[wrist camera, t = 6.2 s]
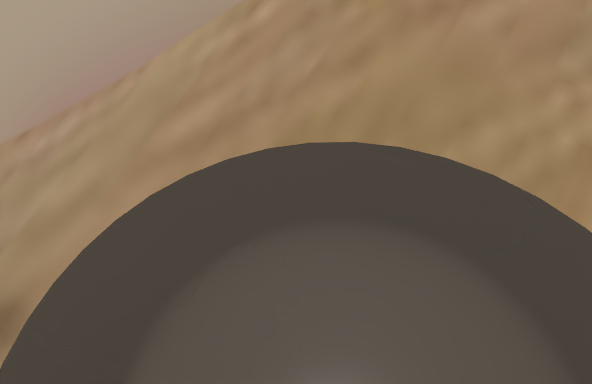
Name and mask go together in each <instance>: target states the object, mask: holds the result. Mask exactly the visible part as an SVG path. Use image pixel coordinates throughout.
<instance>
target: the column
mask: <svg viewBox="0 0 592 384" xmlns="http://www.w3.org/2000/svg"><path fill="white" fill-rule="evenodd" d="M0 384H592V233H591V232H590V231H589V230H587V229H586V228H585V227H583V226H582V225H580V224H578V223H577V222H575V221H574V220H572V219H571V218H569V217H568V216H566V215H565V214H563V213H562V212H560V211H559V210H557V209H555V208H554V207H552V206H551V205H549V204H548V203H546V202H545V201H543V200H542V199H540V198H538V197H536V196H534V195H532V194H530V193H528V192H526V191H524V190H522V189H520V188H518V187H516V186H514V185H512V184H510V183H508V182H506V181H504V180H502V179H500V178H498V177H496V176H494V175H492V174H489V173H486V172H484V171H481V170H478V169H475V168H473V167H470V166H467V165H464V164H462V163H459V162H456V161H453V160H450V159H448V158H444V157H440V156H436V155H431V154H427V153H423V152H419V151H414V150H410V149H406V148H401V147H394V146H385V145H376V144H367V143H357V142H332V143H305V144H298V145H291V146H283V147H276V148H269V149H265V150H261V151H257V152H253V153H250V154H246V155H242V156H238V157H234V158H231V159H227V160H224V161H222V162H219V163H217V164H214V165H212V166H209V167H207V168H204V169H202V170H199V171H197V172H194V173H192V174H189V175H187V176H185V177H183V178H182V179H180V180H178V181H176V182H174V183H173V184H171V185H169V186H167V187H165V188H163V189H162V190H160V191H158V192H156V193H154V194H152V195H151V196H149V197H148V198H146V199H145V200H144V201H142V202H141V203H139V204H138V205H137V206H135V207H134V208H132V209H131V210H130V211H128V212H127V213H125V214H124V215H123V216H121V217H120V218H118V219H117V220H116V221H114V222H113V223H112V224H111V225H110V226H109V227H108V228H107V229H106V230H104V231H103V232H102V233H101V234H100V235H99V236H98V237H97V238H96V239H94V240H93V241H92V242H91V243H90V244H89V245H88V246H87V247H86V248H84V249H83V251H82V252H81V253H80V254H79V255H78V256H77V257H76V258H75V260H74V261H73V262H72V263H71V264H70V265H69V266H68V267H67V269H66V270H65V271H64V272H63V273H62V274H61V275H60V276H59V278H58V279H57V280H56V281H55V282H54V283H53V285H52V286H51V287H50V289H49V290H48V292H47V293H46V294H45V296H44V297H43V299H42V300H41V301H40V303H39V304H38V306H37V307H36V309H35V310H34V311H33V313H32V314H31V316H30V317H29V318H28V320H27V321H26V323H25V325H24V327H23V328H22V330H21V332H20V334H19V336H18V337H17V339H16V341H15V343H14V344H13V346H12V348H11V350H10V351H9V353H8V355H7V357H6V359H5V360H4V362H3V364H2V367H1V369H0Z"/></svg>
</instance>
